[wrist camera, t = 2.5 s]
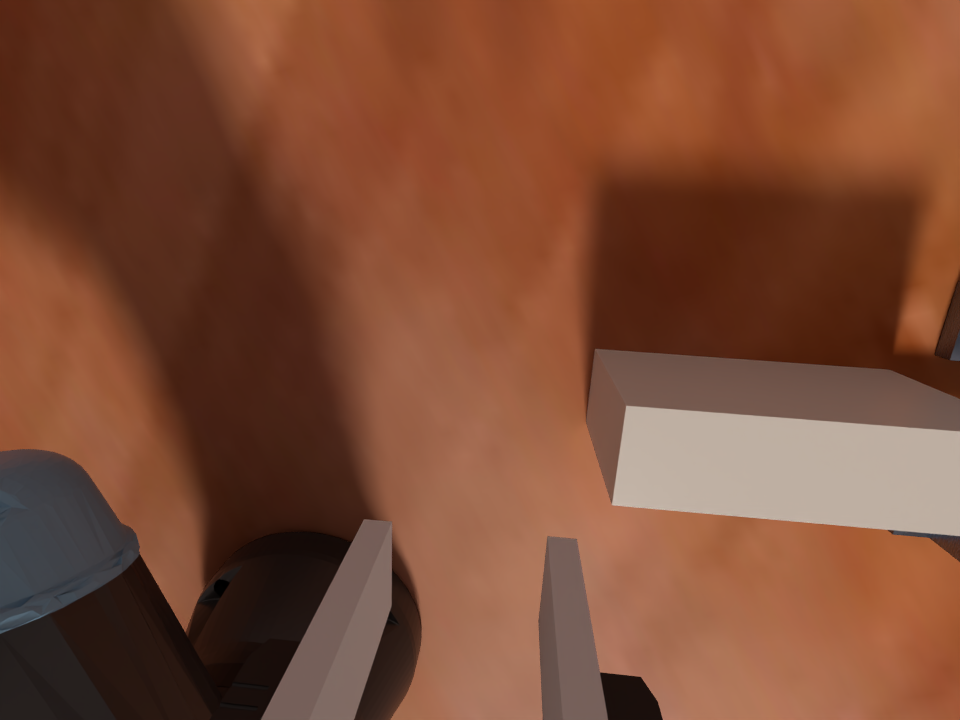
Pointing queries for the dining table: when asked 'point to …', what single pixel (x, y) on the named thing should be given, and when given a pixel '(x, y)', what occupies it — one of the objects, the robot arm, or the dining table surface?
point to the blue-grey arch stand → (954, 345)
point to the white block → (776, 441)
